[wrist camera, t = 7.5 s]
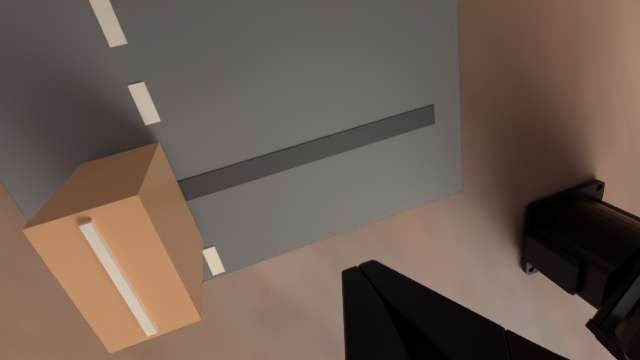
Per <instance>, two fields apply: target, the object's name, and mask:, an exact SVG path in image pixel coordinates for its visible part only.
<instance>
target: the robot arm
mask: <svg viewBox="0 0 640 360" xmlns="http://www.w3.org/2000/svg"><path fill="white" fill-rule="evenodd" d="M604 187H605V183H604V182H602V181H600V180H593V181H590V182H588V183H585V184H582V185H580V186H577V187H574V188H571V189H569V190H566V191H563V192H561V193H558V194H555V195H553V196H550V197H547V198H545V199H542V200H539V201H536V202H534V203H532V204H530V205H529V206H528V207H527V210H526V222H525V237H524V252H523V266H522V270H523V271H524V272H525V273H526V274H528V275H531V274H534V273H536V272H538V271H539V272H541V273H542V274H543V275H545V276H546V277H547V278H549V279H550V280H551V281H553V282H554V283H555V284H557V285H558V286H559V287H561V288H562V289H563V290H565V291H566V292H567V293H569V294H571V295H575V294H577V295H578V296H579V297H581V298H582V299H584V300H585V301H586V302H588V303H589V304H590V305H592V306H593V307H594V308H596V309H597V310H598V311H597V313H596V314H595V315H594V317H593V318H592V319H589V320H588V322H587V323H586V325H585V326H586V327H587V328H588V329H589V330H590V331H591V332H592V333H593V334H594V335H595V338H596V339H597V340H598V341H599V342H600V343H601V344H602V345H603V346H604V347H605V348H606V349H607V350H608V351H609V352H610V353H611V354H612V355H613V356H614V357H615V358H616V359H617V360H640V217H637V216H635V215H633V214H631V213H629V212H626V211H624V210H622V209H620V208H618V207H615V206H613V205H611V204H609V203H607V202H604V201H602V198H603V192H604ZM342 296H343V319H344V342H345V360H570V359H567V358H565V357H563V356H561V355H558V354H556V353H554V352H552V351H550V350H548V349H546V348H544V347H542V346H540V345H538V344H536V343H534V342H532V341H530V340H528V339H526V338H524V337H522V336H520V335H518V334H516V333H514V332H512V331H510V330H508V329H507V330H506V331H505V328H504V327H502V326H500V325H498V324H497V323H495V322H493V321H491V320H489V319H487V318H485V317H483V316H481V315H479V314H477V313H475V312H474V311H472V310H470V309H468V308H466V307H464V306H462V305H460V304H458V303H456V302H454V301H452V300H451V299H449V298H447V297H445V296H443V295H441V294H439V293H437V292H435V291H433V290H431V289H429V288H428V287H426V286H424V285H422V284H420V283H418V282H416V281H414V280H412V279H410V278H408V277H406V276H405V275H403V274H401V273H399V272H397V271H395V270H393V269H391V268H389V267H387V266H385V265H383V264H382V263H380V262H378V261H376V260H370V261H367V262H364V263H361V264H359V266H358V267H357V266H353V267H351V268H348V269H345V270H343V271H342Z"/></svg>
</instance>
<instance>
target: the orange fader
mask: <svg viewBox="0 0 640 360" xmlns="http://www.w3.org/2000/svg"><path fill="white" fill-rule="evenodd" d="M22 231H23V233H24V234H25V235H26V237H27V238H28V240H29V241H30V242H31V244H32V245H33V246H34V248H35V249H36V251H37V252H38V253H39V255H40V256H41V258H42V259H43V260H44V262H45V263H46V265H47V266H48V267H49V269H50V270H51V272H52V273H53V274H54V276H55V277H56V279H57V280H58V281H59V283H60V284H61V285H62V287H63V288H64V290H65V291H66V292H67V294H68V295H69V297H70V298H71V299H72V301H73V302H74V304H75V305H76V306H77V308H78V309H79V311H80V312H81V313H82V315H83V316H84V317H85V319H86V320H87V322H88V323H89V324H90V326H91V327H92V329H93V330H94V331H95V333H96V334H97V336H98V337H99V338H100V340H101V341H102V343H103V344H104V345H105V347H106V348H107V350H108V351H109V352H110V353H113V352H115V351H118V350H121V349H123V348H126V347H129V346H132V345H134V344H137V343H140V342H142V341H145V340H148V339H151V338H153V337H156V336H159V335H161V334H164V333H167V332H170V331H172V330H175V329H178V328H180V327H183V326H186V325H189V324H191V323H194V322H197V321H199V320H201V312H202V269H203V239H202V237H201V235H200V232H199V230H198V228H197V226H196V223H195V221H194V219H193V217H192V214H191V212H190V210H189V208H188V205H187V203H186V201H185V199H184V196H183V194H182V192H181V189H180V187H179V185H178V183H177V180H176V178H175V176H174V174H173V171H172V169H171V167H170V165H169V162H168V160H167V158H166V156H165V153H164V151H163V149H162V146H161V144H160V142H157V143H154V144H150V145H146V146H143V147H139V148H136V149H132V150H129V151H125V152H122V153H118V154H115V155H111V156H107V157H104V158H100V159H97V160H93V161H90V162H86V163H83V164H81V165H80V166H79V167H78V168H77V169H76V170H75V171H74V172H73V174H72V175H71V176H70V177H69V178H68V179H67V180H66V181H65V182H64V184H63V185H62V186H61V187H60V188H59V189H58V190H57V191H56V192H55V194H54V195H53V196H52V197H51V198H50V199H49V200H48V201H47V202H46V204H45V205H44V206H43V207H42V208H41V209H40V210H39V211H38V212H37V214H36V215H35V216H34V217H33V218H32V219H31V220H30V221H29V222H28V224H27V225H26V226H25V227H24V228H23V229H22Z"/></svg>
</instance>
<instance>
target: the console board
mask: <svg viewBox="0 0 640 360" xmlns="http://www.w3.org/2000/svg"><path fill="white" fill-rule="evenodd" d="M157 142H160V144H161V146H162V149H163V151H164V153H165V156H166V158H167V160H168V162H169V165H170V167H171V169H172V171H173V174H174V176H175V178H176V180H177V183H178V185H179V187H180V189H181V192H182V194H183V196H184V199H185V201H186V203H187V205H188V208H189V210H190V212H191V214H192V217H193V219H194V221H195V223H196V226H197V228H198V230H199V232H200V235H201V237H202V239H203V269H202V282H204V281H207V280H210V279H213V278H216V277H218V276H221V275H224V274H227V273H230V272H233V271H235V270H238V269H241V268H244V267H247V266H250V265H253V264H255V263H258V262H261V261H264V260H267V259H270V258H272V257H275V256H278V255H281V254H284V253H287V252H290V251H292V250H295V249H298V248H301V247H304V246H307V245H309V244H312V243H315V242H318V241H321V240H324V239H327V238H329V237H332V236H335V235H338V234H341V233H344V232H346V231H349V230H352V229H355V228H358V227H361V226H364V225H366V224H369V223H372V222H375V221H378V220H381V219H383V218H386V217H389V216H392V215H395V214H398V213H401V212H403V211H406V210H409V209H412V208H415V207H418V206H420V205H423V204H426V203H429V202H432V201H435V200H438V199H440V198H443V197H446V196H449V195H452V194H455V193H457V192H460V191H463V182H462V145H461V109H460V73H459V37H458V1H457V0H0V181H1V182H2V184H3V185H4V187H5V188H6V190H7V191H8V192H9V194H10V195H11V197H12V198H13V200H14V201H15V202H16V204H17V205H18V207H19V208H20V210H21V211H22V213H23V214H24V215H25V217H26V218H27V220H28V221H30V220H31V219H32V218H33V217H34V216H35V215H36V214H37V212H38V211H39V210H40V209H41V208H42V207H43V206H44V205H45V204H46V202H47V201H48V200H49V199H50V198H51V197H52V196H53V195H54V194H55V192H56V191H57V190H58V189H59V188H60V187H61V186H62V185H63V184H64V182H65V181H66V180H67V179H68V178H69V177H70V176H71V175H72V174H73V172H74V171H75V170H76V169H77V168H78V167H79V166H80V165H81V164H83V163H86V162H90V161H93V160H97V159H100V158H104V157H107V156H111V155H115V154H118V153H122V152H125V151H129V150H132V149H136V148H139V147H143V146H146V145H150V144H154V143H157Z"/></svg>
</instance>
